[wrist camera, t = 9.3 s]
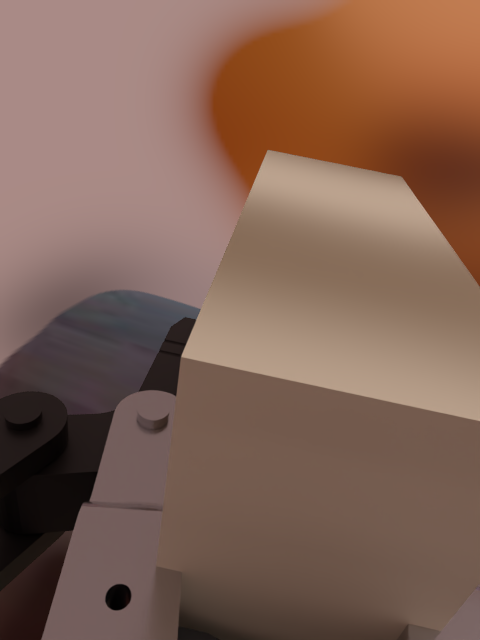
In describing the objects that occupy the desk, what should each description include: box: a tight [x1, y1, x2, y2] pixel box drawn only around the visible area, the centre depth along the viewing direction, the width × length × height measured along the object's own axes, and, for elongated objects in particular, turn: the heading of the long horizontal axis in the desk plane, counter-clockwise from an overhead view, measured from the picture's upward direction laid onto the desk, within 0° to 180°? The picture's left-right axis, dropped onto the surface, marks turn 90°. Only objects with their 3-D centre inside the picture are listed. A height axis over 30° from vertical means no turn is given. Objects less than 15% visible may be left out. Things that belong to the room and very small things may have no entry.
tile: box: [156, 150, 480, 640], centre depth 10 cm, size 8×3×11 cm, turn 173°
